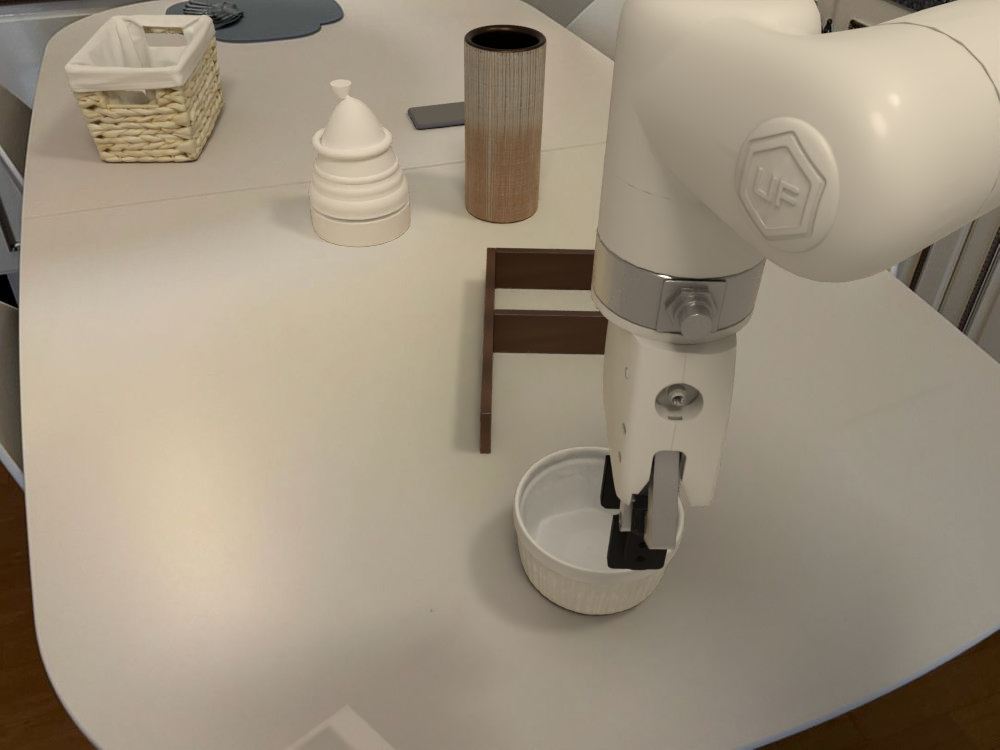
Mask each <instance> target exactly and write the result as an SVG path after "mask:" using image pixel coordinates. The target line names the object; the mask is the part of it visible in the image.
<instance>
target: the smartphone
mask: <svg viewBox="0 0 1000 750" xmlns="http://www.w3.org/2000/svg"><path fill="white" fill-rule="evenodd" d="M407 114H408V115H409V117H410V118H411V120H412V123H413V124H414V127H415V128H416V129H418V130H426V129H434V128H442V127H450V126H459V125H465V107H464V101H457V102H446V103H440V104H439V103H438V104H430V105H422V106H412V107H409V108H408V109H407Z"/></svg>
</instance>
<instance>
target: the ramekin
mask: <svg viewBox="0 0 1000 750" xmlns="http://www.w3.org/2000/svg"><path fill="white" fill-rule="evenodd" d="M606 455H610V451H609V447H604V446H591V445H589V446H588V445H585V446H581V445H580V446H574V447H568V448H563V449H560V450H556V451H553V452H551V453H550V454H547V455H545V456H543V457H541V458H540V459H538V460H537V461H536V462H534V463H532V465H531V466H530V467H528V469H526V471H525V473H524V474H523V476H522V477H521V478H520V480H519V482H518V484H517V486H516V489H515V493H514V498H513V505H512V519H513V524H514V528H515V532H516V534H517V544H518V552H519V556H520V560H521V561H520V562H521V564H522V565H521V566H522V567H523V569H524V572H525V574H526V576H527V577H528V579H529V581H530V583H532V585H533V586H534V588H535V589H536V590H538V591H539V592H540V594H541V595H542V596H544V597H545V598H547V599H548V600H549V601H550V602H553V603H554V604H556V605H558V606H559V607H562V608H564V609H565V610H569V611H572V612H575V613H579V614H584V615H593V616H595V615H599V616H601V615H603V616H604V615H612V614H615V613H621V612H624V611H626V610H630V609H631V608H633V607H635V606H637V605H639V604H640V603H641V602H643V601H645V600H646V599H647V598H648V597H649V596H651V594H652V593H653V592H654V590H655V588H657V587H658V586H659V584H660V582H661V580H662V578H663V577H664V574H665V572H666V569H667V567H668V565H669V563H670V561H672V559H673V558H674V556H675V555H676V553H677V551H678V550H679V547H680V545H681V543H682V538H683V533H684V528H685V509H684V505H683V503H682V500H681V497H680V495H679V494H678V508H677V530H676V546H675V549H667V554H666V559H665V563H664V566H663V568H661V569H658V570H648V569H647V570H630V569H611V568H609V567H608V565H607V552H608V545H609V538H610V532H611V525H612V519H613V515H617V514H619V510H620V509H605V508H604V507H602V506H601V501H600V494H601V486H602V479H603V472H604V464H605V457H606Z"/></svg>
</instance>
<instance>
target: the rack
mask: <svg viewBox="0 0 1000 750" xmlns="http://www.w3.org/2000/svg"><path fill="white" fill-rule="evenodd" d="M594 253H595V249H588V248H587V249H583V248H541V247H539V248H535V247H534V248H533V247H531V248H530V247H486V257H485V258H486V259H485V261H486V262H485V284H484V286H485V287H484V307H483V309H484V310H483V331H482V332H483V333H482V356H481V358H482V359H481V381H480V382H481V383H480V384H481V385H480V405H479V406H480V407H479V453H480V454H491V451H492V419H493V418H492V413H493V412H492V411H493V379H494V378H493V377H494V376H493V375H494V371H493V370H494V353H515V354H517V353H518V354H519V353H520V354H563V355H565V354H566V355H567V354H569V355H604V353H605V344H606V335H607V327H608V319H607V318H606V317H604V316H603V315H602V313H601V312H600V311H599V310H562V309H561V310H559V309H557V310H556V309H515V308H514V309H513V308H512V309H508V308H506V309H505V308H495V296H496V289H520V290H521V289H522V290H525V289H526V290H568V291H573V290H574V291H575V290H576V291H577V290H578V291H591V285H592V273H593V263H594Z"/></svg>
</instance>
